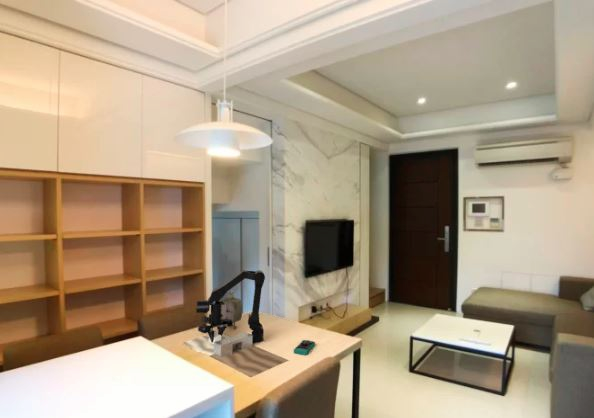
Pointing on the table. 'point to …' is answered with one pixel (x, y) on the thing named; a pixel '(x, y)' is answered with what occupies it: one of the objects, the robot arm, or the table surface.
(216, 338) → the plug
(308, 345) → the digital multimeter
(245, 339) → the motor housing
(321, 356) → the table surface
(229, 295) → the tabletop clock
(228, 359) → the base board
